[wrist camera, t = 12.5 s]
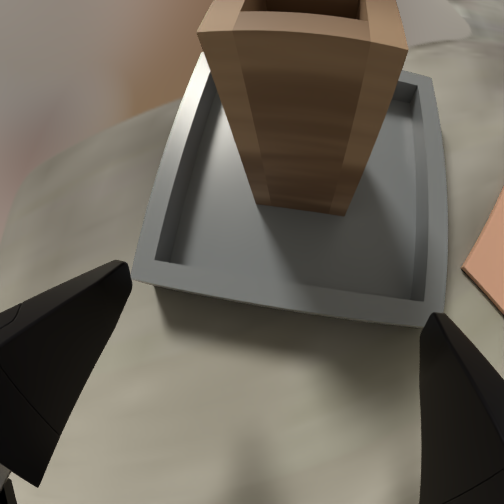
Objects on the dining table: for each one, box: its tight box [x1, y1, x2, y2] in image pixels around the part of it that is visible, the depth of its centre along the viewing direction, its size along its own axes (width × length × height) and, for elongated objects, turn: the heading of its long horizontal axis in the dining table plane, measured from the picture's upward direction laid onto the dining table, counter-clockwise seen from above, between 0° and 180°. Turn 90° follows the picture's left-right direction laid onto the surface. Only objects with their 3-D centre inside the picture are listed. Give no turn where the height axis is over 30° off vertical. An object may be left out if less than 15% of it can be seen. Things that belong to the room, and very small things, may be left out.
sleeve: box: [197, 0, 408, 217], centre depth 12 cm, size 7×5×12 cm
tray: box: [131, 52, 448, 328], centre depth 17 cm, size 16×16×3 cm
